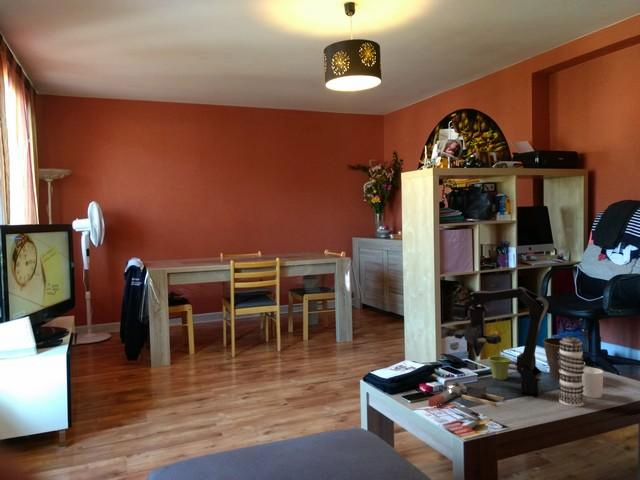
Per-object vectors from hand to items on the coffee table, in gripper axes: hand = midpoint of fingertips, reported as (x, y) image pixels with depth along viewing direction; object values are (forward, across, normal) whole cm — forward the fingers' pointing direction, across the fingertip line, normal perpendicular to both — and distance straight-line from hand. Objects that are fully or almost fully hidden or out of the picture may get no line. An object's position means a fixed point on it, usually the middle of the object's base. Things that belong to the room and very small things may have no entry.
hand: (477, 356), depth 217 cm
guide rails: (+12, +10, -16) cm, 22 cm away
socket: (+12, +7, -16) cm, 21 cm away
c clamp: (+13, +3, +31) cm, 34 cm away
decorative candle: (+12, +37, +2) cm, 39 cm away
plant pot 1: (+12, +4, +13) cm, 18 cm away
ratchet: (+12, +2, -23) cm, 26 cm away
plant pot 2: (+12, +25, +30) cm, 41 cm away
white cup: (+12, +41, +15) cm, 45 cm away
